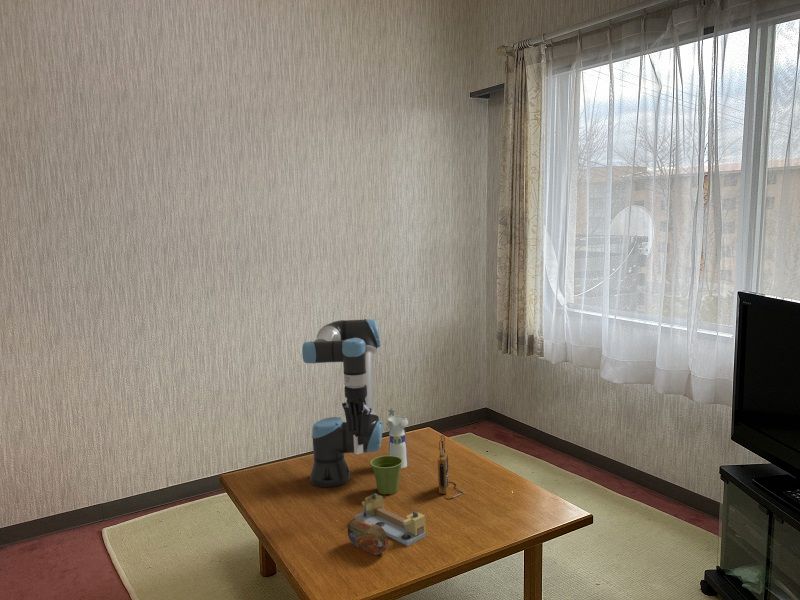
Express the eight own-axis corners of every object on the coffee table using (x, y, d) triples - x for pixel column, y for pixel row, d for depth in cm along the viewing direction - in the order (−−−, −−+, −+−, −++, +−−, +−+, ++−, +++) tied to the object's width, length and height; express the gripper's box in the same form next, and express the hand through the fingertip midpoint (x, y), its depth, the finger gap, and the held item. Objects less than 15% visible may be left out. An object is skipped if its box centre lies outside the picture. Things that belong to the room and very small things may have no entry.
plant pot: (408, 485, 230) (407, 456, 228) (397, 499, 219) (396, 469, 217) (378, 482, 234) (377, 453, 232) (366, 495, 223) (365, 466, 221)
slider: (359, 514, 206) (358, 496, 205) (375, 507, 210) (375, 489, 210) (367, 518, 203) (366, 500, 202) (383, 510, 207) (383, 493, 207)
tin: (347, 543, 191) (346, 517, 190) (354, 539, 193) (353, 513, 192) (383, 559, 181) (381, 532, 180) (390, 555, 183) (389, 528, 182)
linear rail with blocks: (355, 519, 206) (354, 497, 205) (374, 510, 211) (373, 489, 210) (407, 546, 188) (406, 522, 187) (426, 535, 193) (426, 512, 192)
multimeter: (465, 500, 216) (464, 445, 213) (437, 499, 218) (435, 444, 215) (469, 482, 230) (468, 430, 228) (442, 481, 232) (441, 430, 230)
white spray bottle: (409, 468, 245) (407, 407, 242) (388, 469, 245) (385, 408, 242) (409, 460, 253) (407, 401, 250) (388, 461, 254) (386, 402, 250)
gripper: (334, 384, 209) (338, 451, 212) (359, 391, 200) (362, 461, 203) (351, 379, 214) (355, 445, 217) (376, 386, 205) (379, 454, 208)
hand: (358, 453), depth 210 cm, fingers closed
